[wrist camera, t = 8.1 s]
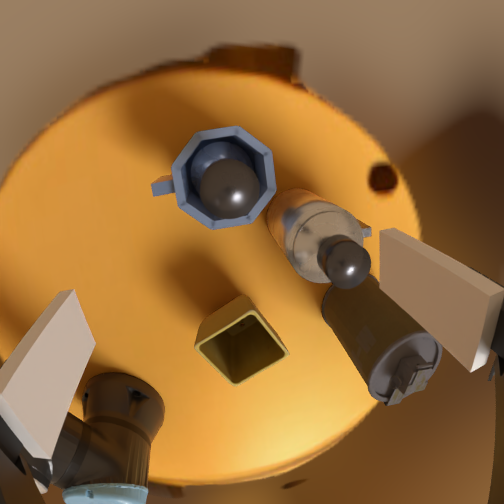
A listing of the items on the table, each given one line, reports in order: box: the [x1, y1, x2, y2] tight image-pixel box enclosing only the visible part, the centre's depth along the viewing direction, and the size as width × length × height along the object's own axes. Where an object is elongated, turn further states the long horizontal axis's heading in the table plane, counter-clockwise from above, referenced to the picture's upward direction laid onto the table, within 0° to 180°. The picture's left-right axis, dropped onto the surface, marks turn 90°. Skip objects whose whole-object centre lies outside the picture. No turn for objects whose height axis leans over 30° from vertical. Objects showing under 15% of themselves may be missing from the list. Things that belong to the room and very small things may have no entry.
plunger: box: [191, 142, 260, 219], centre depth 28 cm, size 7×7×14 cm
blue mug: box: [151, 126, 277, 230], centre depth 33 cm, size 11×9×12 cm
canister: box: [322, 274, 442, 406], centre depth 39 cm, size 11×10×20 cm
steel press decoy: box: [267, 188, 371, 289], centre depth 35 cm, size 10×8×18 cm
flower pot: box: [194, 295, 289, 387], centre depth 42 cm, size 9×9×9 cm
